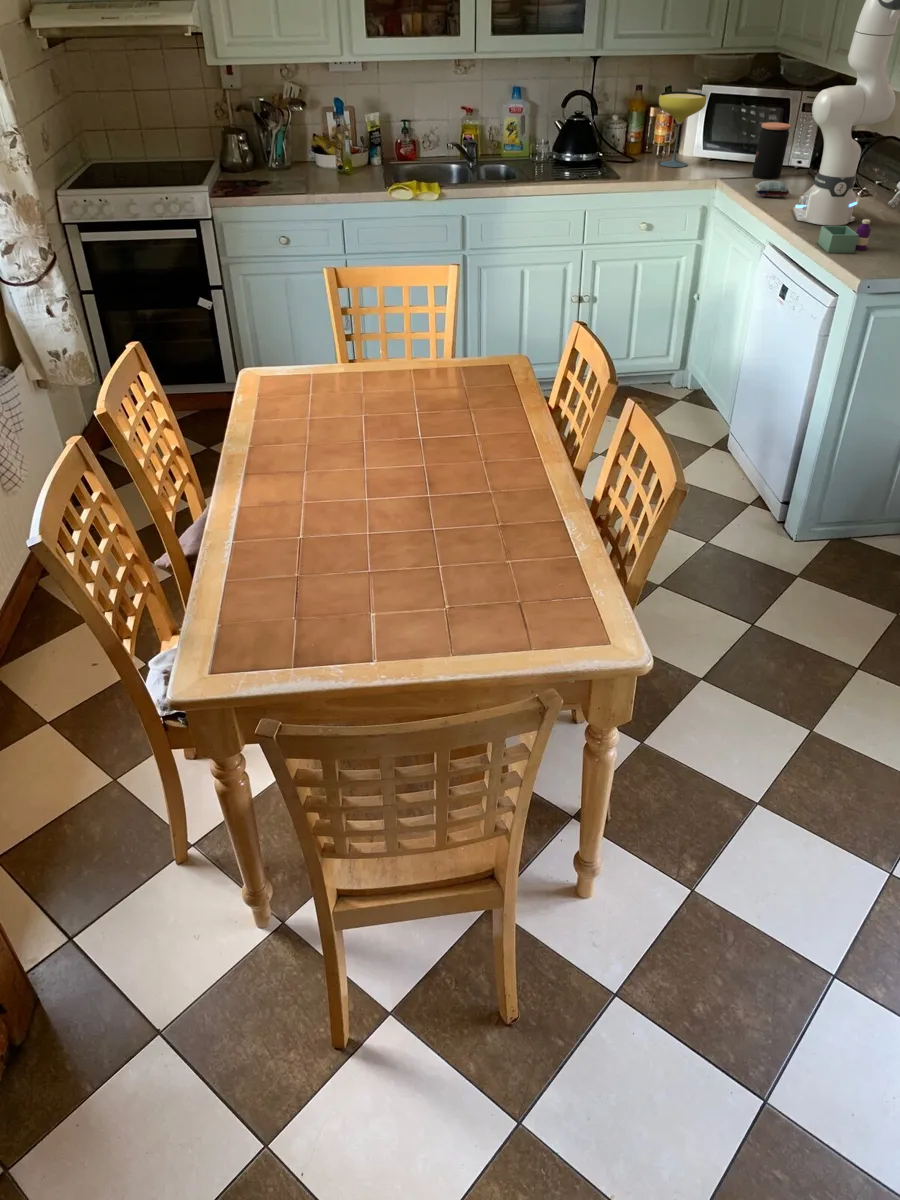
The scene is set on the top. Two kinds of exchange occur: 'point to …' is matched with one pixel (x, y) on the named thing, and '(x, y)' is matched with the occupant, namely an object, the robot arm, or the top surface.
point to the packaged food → (772, 189)
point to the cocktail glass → (680, 113)
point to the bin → (838, 239)
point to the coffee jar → (771, 150)
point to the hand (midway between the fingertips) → (896, 209)
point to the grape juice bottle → (863, 235)
